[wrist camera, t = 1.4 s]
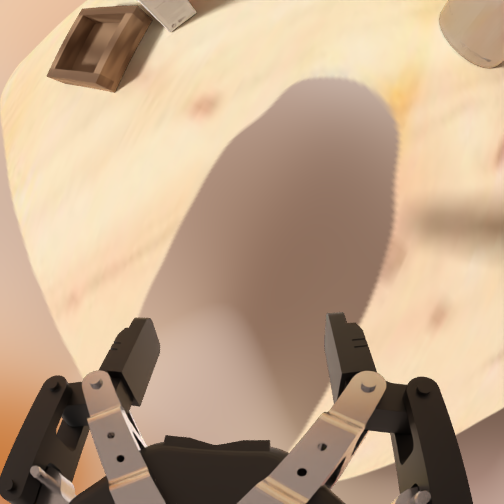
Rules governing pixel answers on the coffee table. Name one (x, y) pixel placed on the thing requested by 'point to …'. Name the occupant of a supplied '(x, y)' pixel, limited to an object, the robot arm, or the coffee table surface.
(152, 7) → the skincare box
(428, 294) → the coffee table surface
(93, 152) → the coffee table surface
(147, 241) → the coffee table surface
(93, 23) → the box
